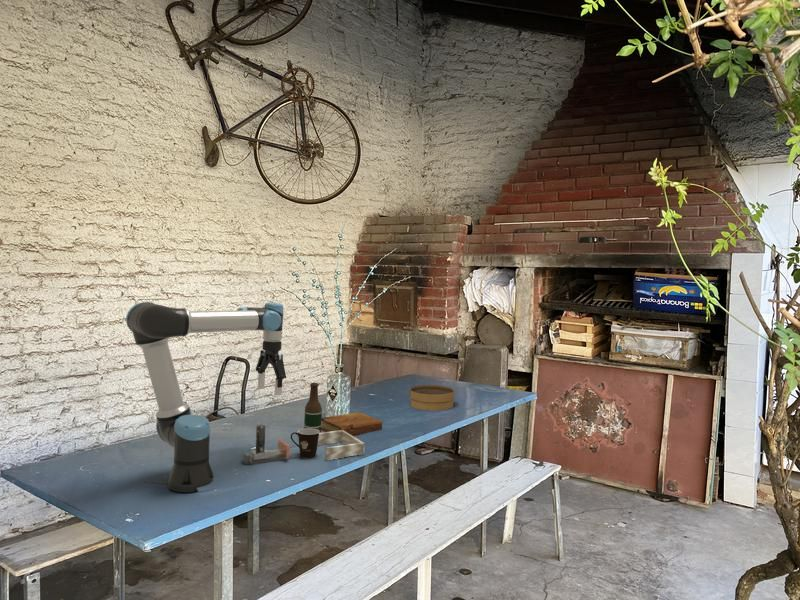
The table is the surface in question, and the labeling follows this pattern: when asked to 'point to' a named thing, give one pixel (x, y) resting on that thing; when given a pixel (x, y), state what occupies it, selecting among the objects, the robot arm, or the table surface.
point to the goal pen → (349, 449)
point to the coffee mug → (307, 442)
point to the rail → (249, 461)
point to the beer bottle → (313, 410)
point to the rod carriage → (264, 453)
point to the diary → (351, 423)
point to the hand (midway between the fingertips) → (269, 392)
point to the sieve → (431, 397)
